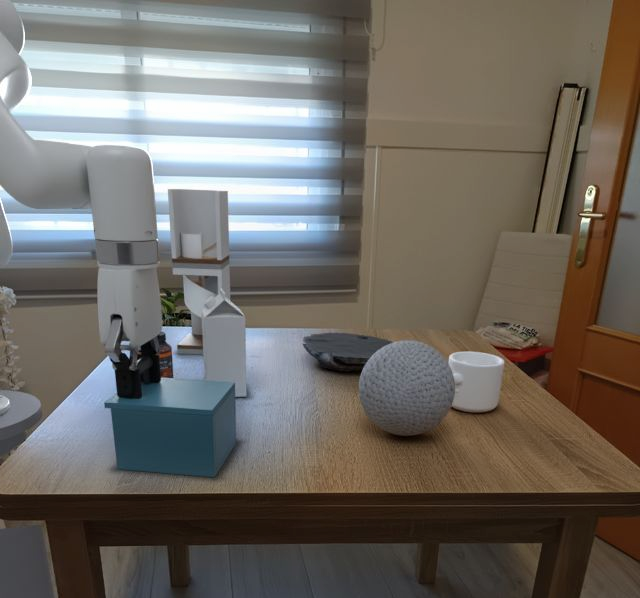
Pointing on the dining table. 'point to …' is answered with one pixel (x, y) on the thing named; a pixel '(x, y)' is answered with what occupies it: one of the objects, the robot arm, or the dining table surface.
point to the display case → (199, 253)
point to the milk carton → (224, 342)
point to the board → (343, 349)
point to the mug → (476, 380)
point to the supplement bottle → (165, 357)
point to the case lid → (174, 394)
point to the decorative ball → (406, 388)
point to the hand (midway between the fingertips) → (140, 388)
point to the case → (174, 440)
